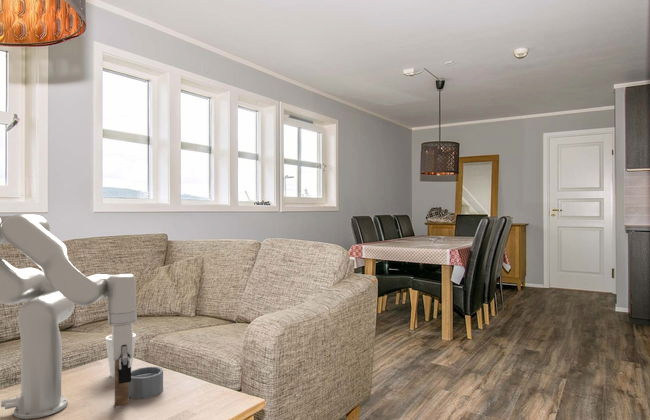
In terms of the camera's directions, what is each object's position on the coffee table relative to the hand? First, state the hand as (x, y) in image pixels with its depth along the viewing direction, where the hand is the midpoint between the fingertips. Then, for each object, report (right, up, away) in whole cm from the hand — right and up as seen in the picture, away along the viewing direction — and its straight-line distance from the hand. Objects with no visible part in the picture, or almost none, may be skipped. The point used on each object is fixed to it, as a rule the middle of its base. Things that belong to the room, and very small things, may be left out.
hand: (123, 376), depth 124 cm
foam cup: (-12, -8, +23) cm, 27 cm away
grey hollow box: (+3, -8, +8) cm, 12 cm away
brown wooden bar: (-1, -8, 0) cm, 8 cm away
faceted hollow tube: (+3, -8, +8) cm, 12 cm away
